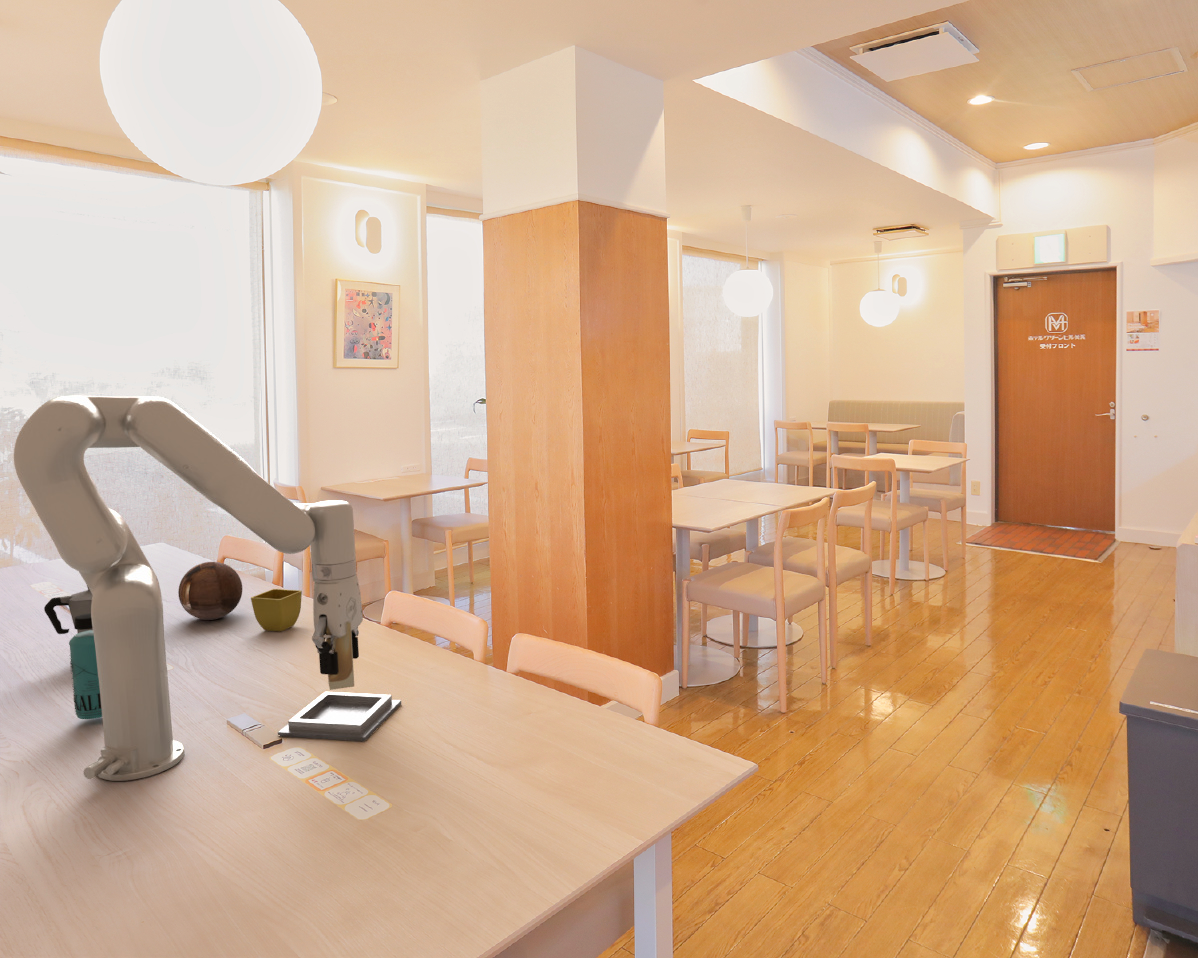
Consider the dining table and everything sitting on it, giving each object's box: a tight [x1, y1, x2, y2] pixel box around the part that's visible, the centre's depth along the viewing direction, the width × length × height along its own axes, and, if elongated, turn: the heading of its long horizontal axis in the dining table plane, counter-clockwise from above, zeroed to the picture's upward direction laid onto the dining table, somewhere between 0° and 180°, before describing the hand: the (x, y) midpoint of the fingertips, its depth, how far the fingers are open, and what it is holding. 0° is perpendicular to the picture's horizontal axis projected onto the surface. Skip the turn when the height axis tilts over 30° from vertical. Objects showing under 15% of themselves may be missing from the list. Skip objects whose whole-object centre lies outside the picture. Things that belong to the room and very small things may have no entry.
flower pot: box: [250, 588, 303, 633], centre depth 200 cm, size 9×9×9 cm
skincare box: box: [325, 621, 355, 691], centre depth 145 cm, size 6×4×12 cm
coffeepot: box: [43, 585, 93, 635], centre depth 178 cm, size 15×9×18 cm, turn 129°
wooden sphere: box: [177, 561, 243, 621], centre depth 209 cm, size 15×15×15 cm
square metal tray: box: [277, 691, 402, 743], centre depth 147 cm, size 16×16×2 cm
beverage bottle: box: [68, 613, 102, 720], centre depth 146 cm, size 6×7×20 cm
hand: (340, 664), depth 145 cm, fingers closed on skincare box, 7 cm apart
